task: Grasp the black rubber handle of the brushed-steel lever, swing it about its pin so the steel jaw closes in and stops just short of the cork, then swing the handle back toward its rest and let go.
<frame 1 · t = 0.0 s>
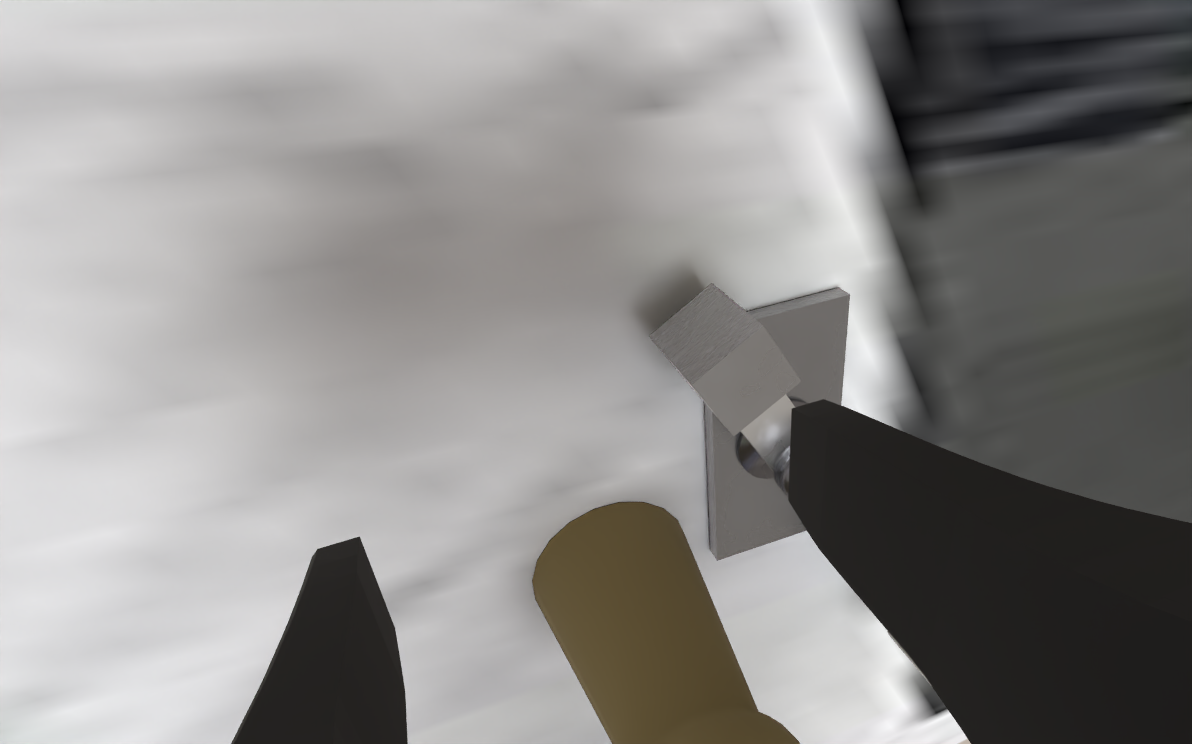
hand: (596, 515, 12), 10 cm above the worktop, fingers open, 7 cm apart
cork: (609, 563, 27), on the worktop
lever: (869, 544, 25), point 4 cm above the worktop, hinge at 0.0°
base plate: (769, 429, 26), on the worktop
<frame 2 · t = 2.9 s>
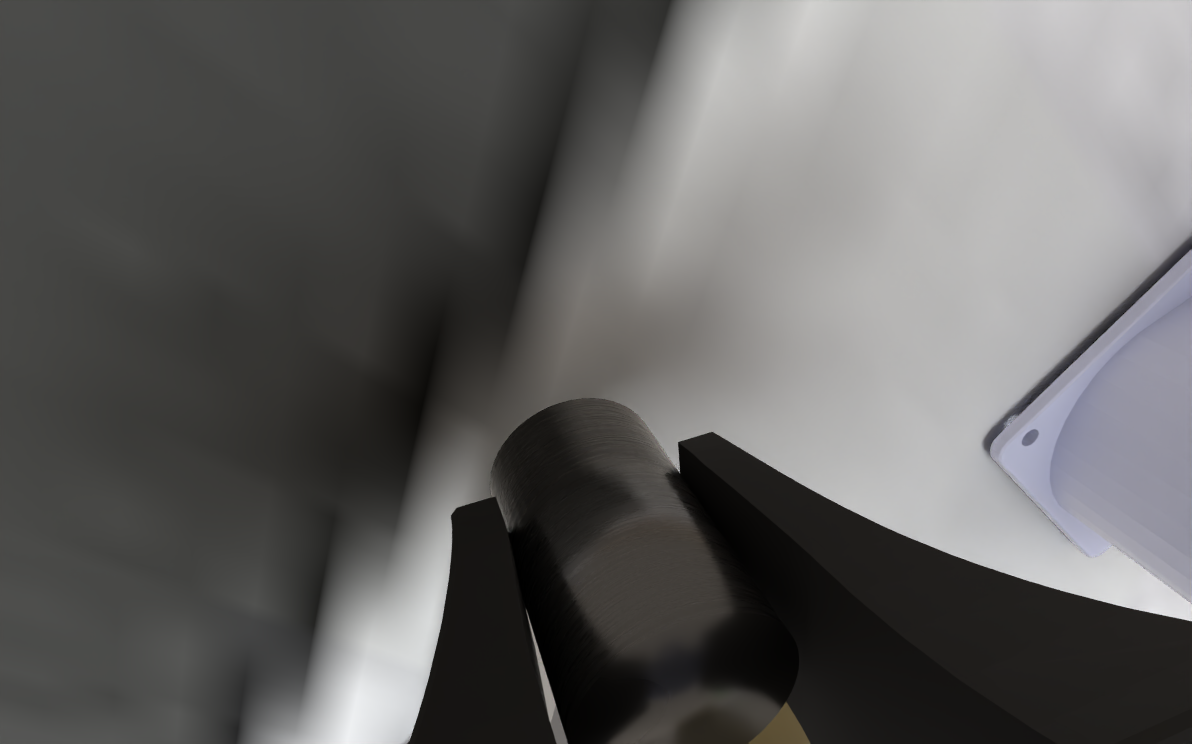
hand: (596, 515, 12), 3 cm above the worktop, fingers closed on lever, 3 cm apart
cork: (708, 735, 22), on the worktop
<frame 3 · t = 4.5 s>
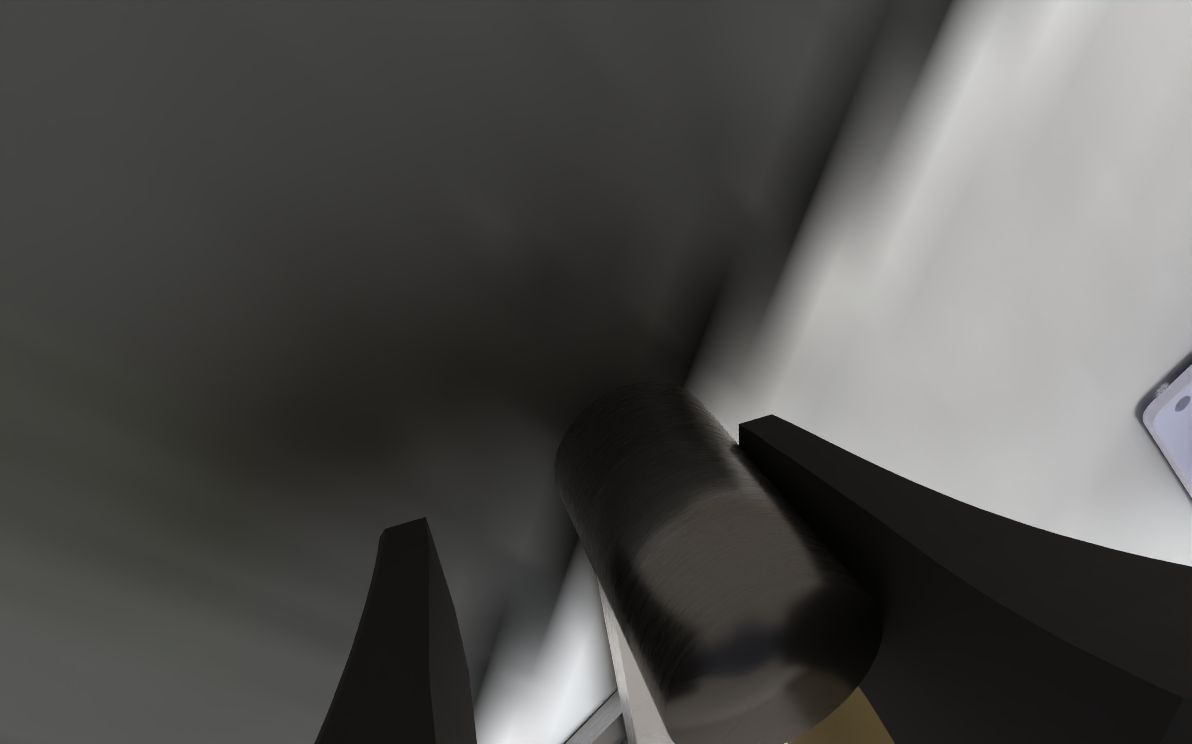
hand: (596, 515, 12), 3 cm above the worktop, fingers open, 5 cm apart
cork: (860, 689, 24), on the worktop
base plate: (651, 736, 21), on the worktop
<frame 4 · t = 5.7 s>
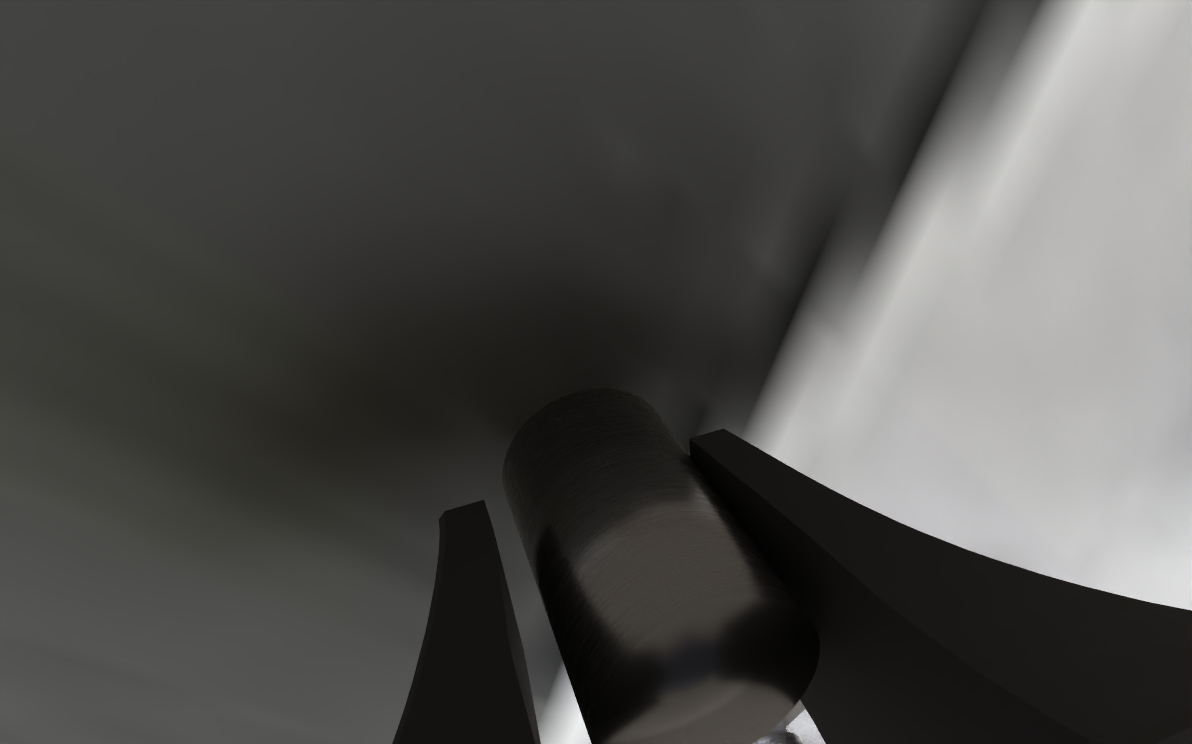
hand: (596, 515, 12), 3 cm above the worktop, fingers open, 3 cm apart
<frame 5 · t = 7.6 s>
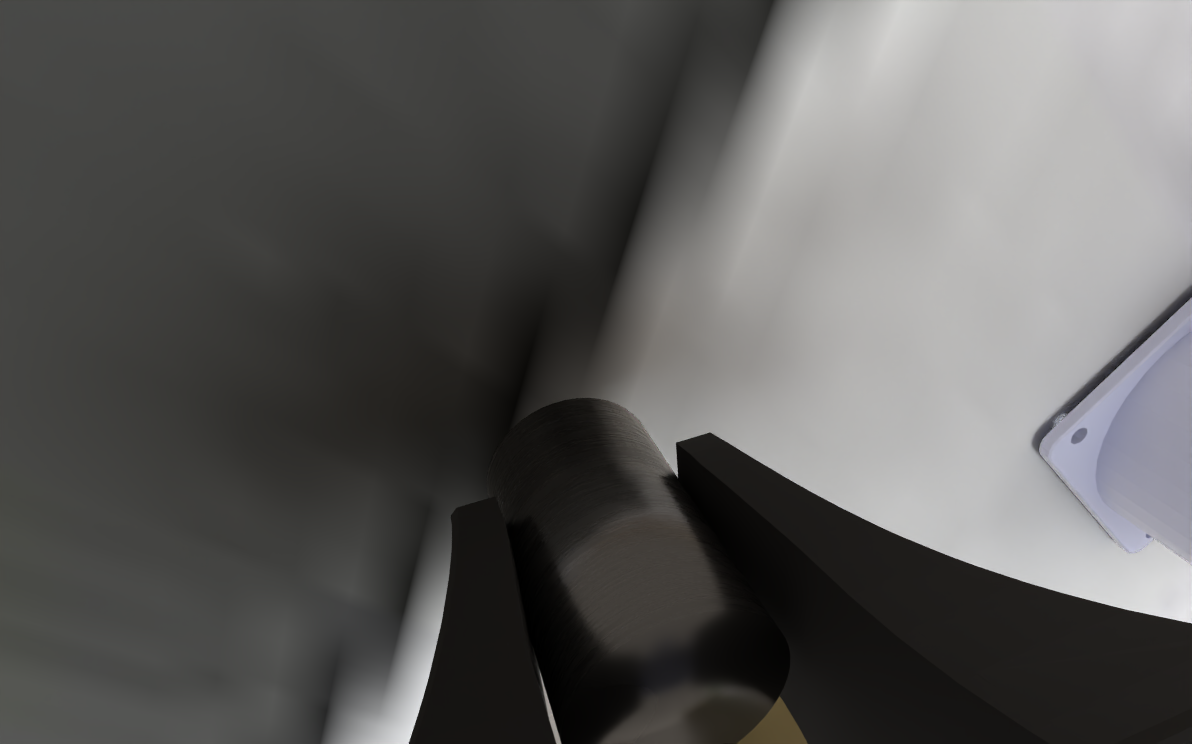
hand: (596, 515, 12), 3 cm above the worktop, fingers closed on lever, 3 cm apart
cork: (758, 724, 23), on the worktop
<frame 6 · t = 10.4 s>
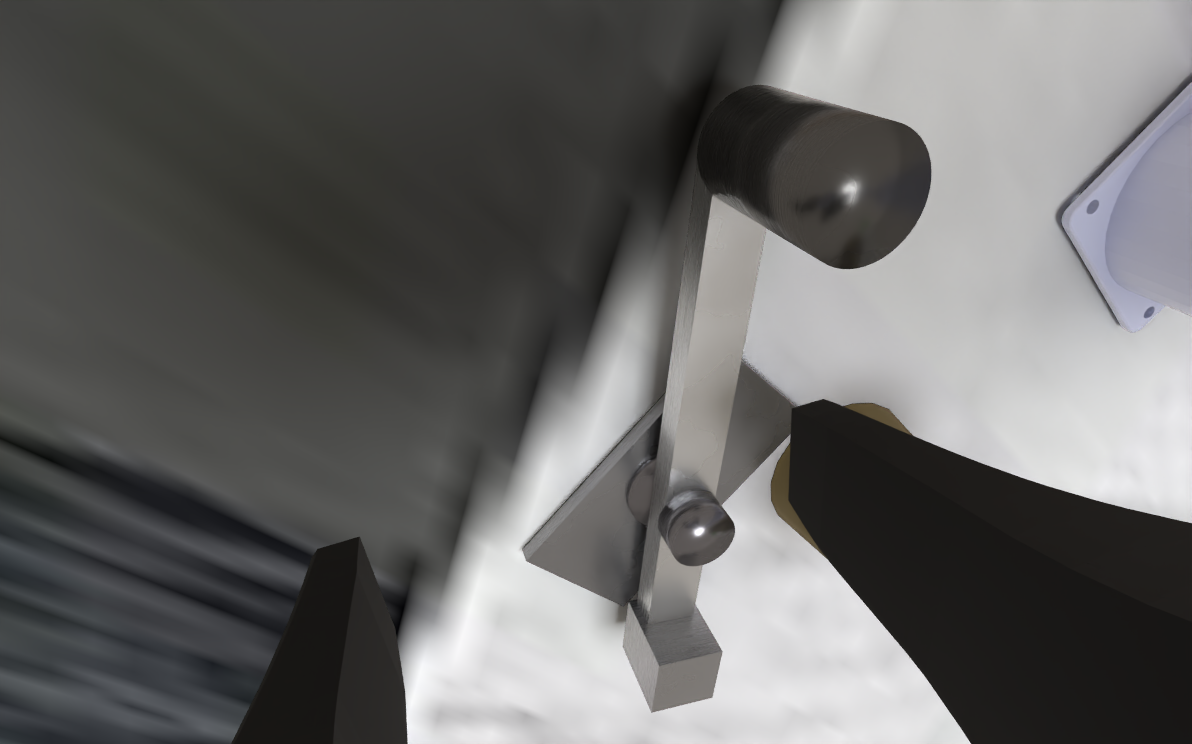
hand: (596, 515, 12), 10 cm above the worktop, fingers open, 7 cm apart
cork: (835, 465, 29), on the worktop
lever: (728, 470, 21), point 4 cm above the worktop, hinge at 8.9°
base plate: (662, 477, 26), on the worktop
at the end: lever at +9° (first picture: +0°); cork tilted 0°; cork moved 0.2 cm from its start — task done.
